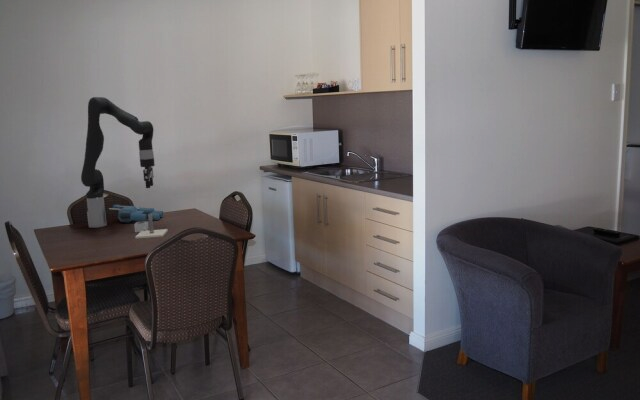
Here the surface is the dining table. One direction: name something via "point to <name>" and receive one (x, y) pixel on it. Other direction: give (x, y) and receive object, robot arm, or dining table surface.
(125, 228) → the dining table surface
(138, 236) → the post
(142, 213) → the toy
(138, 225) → the collar
